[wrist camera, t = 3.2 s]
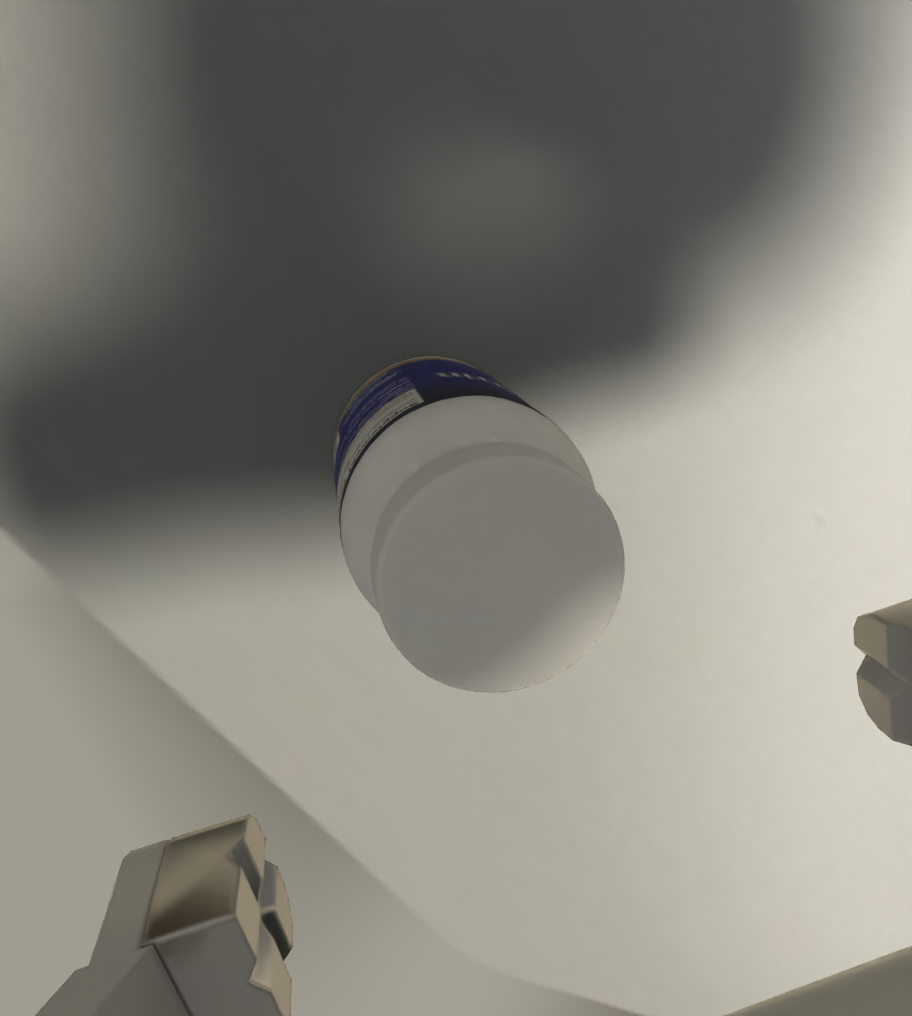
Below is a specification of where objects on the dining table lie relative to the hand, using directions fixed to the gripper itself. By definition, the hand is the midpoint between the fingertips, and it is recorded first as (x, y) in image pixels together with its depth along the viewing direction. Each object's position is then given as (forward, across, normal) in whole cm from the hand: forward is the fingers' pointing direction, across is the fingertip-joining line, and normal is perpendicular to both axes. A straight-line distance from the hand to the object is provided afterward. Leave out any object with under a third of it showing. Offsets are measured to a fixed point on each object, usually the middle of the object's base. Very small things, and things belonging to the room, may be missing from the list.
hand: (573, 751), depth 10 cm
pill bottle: (+14, 0, -1) cm, 15 cm away
